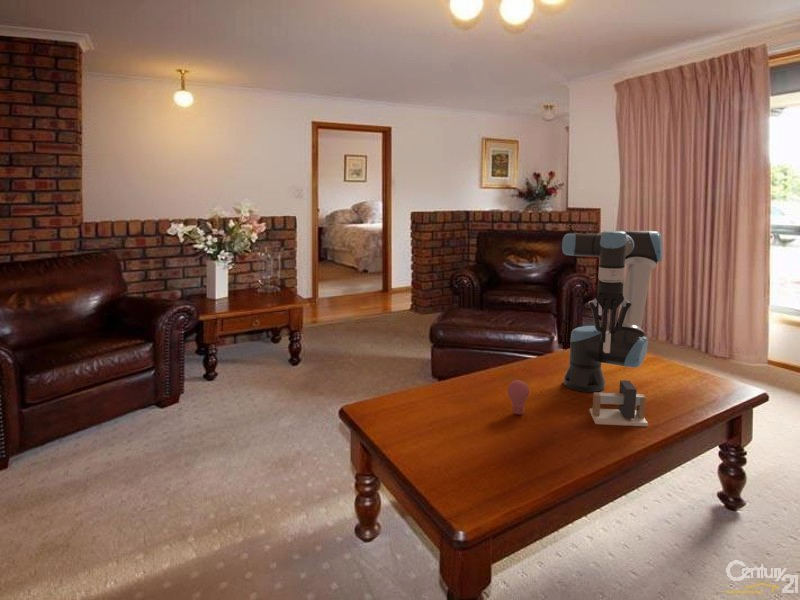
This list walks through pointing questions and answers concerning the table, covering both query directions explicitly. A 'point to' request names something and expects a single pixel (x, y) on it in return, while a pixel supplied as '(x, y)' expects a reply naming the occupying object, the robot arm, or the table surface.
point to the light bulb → (518, 395)
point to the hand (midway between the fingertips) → (606, 351)
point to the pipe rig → (617, 410)
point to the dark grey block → (628, 399)
